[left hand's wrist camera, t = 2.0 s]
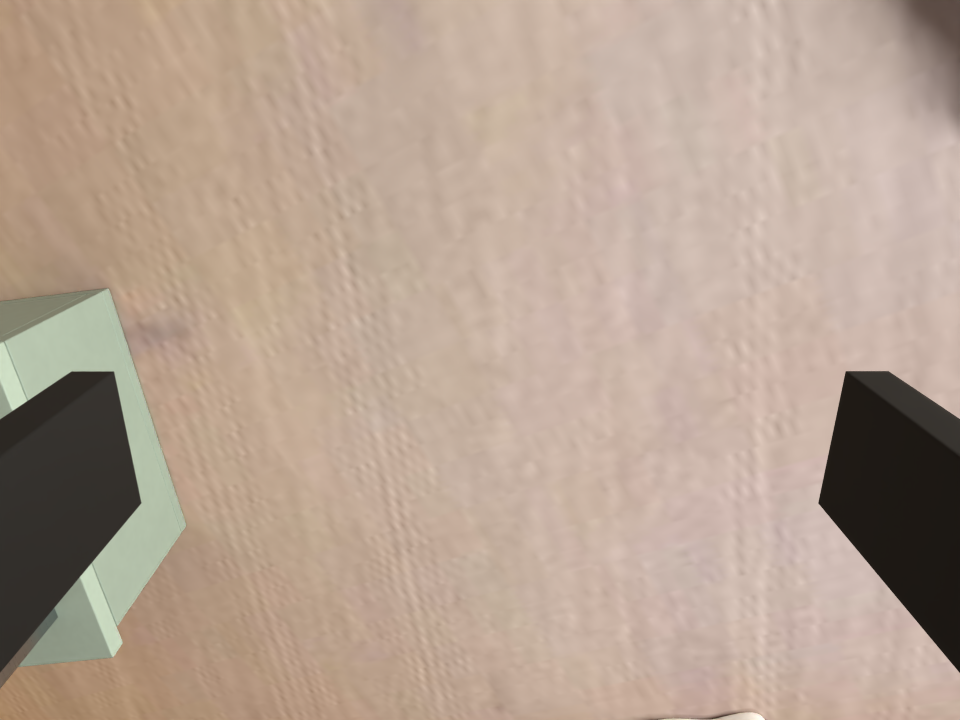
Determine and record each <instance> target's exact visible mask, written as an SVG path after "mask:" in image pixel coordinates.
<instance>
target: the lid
mask: <svg viewBox="0 0 960 720" xmlns="http://www.w3.org/2000/svg"><path fill="white" fill-rule="evenodd" d="M25 402H27V399H26V397H25V394H24V392H23V389H22V386H21V384H20V381H19V379H18V376H17V374H16V371H15V369H14V366H13V364H12V361H11V359H10V356H9V354H8V351H7V348H6V346H5V343H4V342H0V419H1V418H3V417H4V416H6V415H7V414H9V413H10V412H12V411H13V410H15V409H16V408H18V407H19V406H21V405H22V404H24V403H25ZM122 643H123V642H122V639H121V637H120V634H119V632H118V629H117V627H116V624H115V622H114V619H113V617H112V614H111V612H110V609H109V607H108V604H107V602H106V599H105V596H104V594H103V591H102V589H101V586H100V584H99V581H98V579H97V576H96V574H95V571H94V569H93V566H92V564H90V566H89V567H88V568H87V569H86V570H85V572H84V573H83V574H82V575H81V576H80V578H79V579H78V580H77V581H76V582H75V584H74V585H73V586H72V587H71V588H70V590H69V591H68V592H67V593H66V594H65V596H64V597H63V598H62V599H61V600H60V602H59V603H58V604H57V605H56V606H55V608H54V609H53V610H52V611H51V612H50V614H49V615H48V616H47V617H46V618H45V620H44V621H43V622H42V623H41V624H40V626H39V627H38V628H37V629H36V630H35V632H34V633H33V634H32V635H31V636H30V638H29V639H28V640H27V641H26V642H25V644H24V645H23V646H22V647H21V648H20V650H19V651H18V652H17V653H16V654H15V656H14V657H13V658H12V659H11V660H10V662H9V663H8V664H7V665H6V666H5V668H4V669H3V670H2V671H1V672H0V688H1V687H2V686H3V685H4V683H5V682H6V681H7V680H8V678H9V677H10V676H11V675H12V673H13V672H14V671H15V670H16V669H17V667H23V666H33V665H43V664H53V663H64V662H74V661H84V660H94V659H104V658H113V657H114V655H115V654H116V652H117V651H118V649H119V648H120V646H121V645H122Z"/></svg>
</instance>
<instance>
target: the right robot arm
mask: <svg viewBox="0 0 960 720" xmlns="http://www.w3.org/2000/svg"><path fill="white" fill-rule="evenodd" d="M660 720H703V719H684V718H672V719H660ZM707 720H765V719H764V718H763V717H762V716H761V715H759V714H757V713H754V712H744V713H737V714H732V715H728V716H724V717H720V718H716V719H707Z"/></svg>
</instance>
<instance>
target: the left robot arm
mask: <svg viewBox="0 0 960 720" xmlns="http://www.w3.org/2000/svg"><path fill="white" fill-rule="evenodd" d="M140 505H141V498H140V493H139V488H138V484H137V479H136V474H135V469H134V464H133V460H132V455H131V450H130V445H129V440H128V436H127V431H126V426H125V421H124V416H123V411H122V407H121V402H120V397H119V392H118V387H117V383H116V378H115V373H114V371H71V372H70V373H68V374H67V375H65V376H64V377H62V378H61V379H59V380H58V381H56V382H55V383H53V384H52V385H50V386H49V387H47V388H46V389H44V390H43V391H41V392H40V393H38V394H37V395H36V396H34V397H33V398H31V399H30V400H28V401H27V402H25V403H24V404H22V405H21V406H19V407H18V408H16V409H15V410H13V411H12V412H10V413H9V414H7V415H6V416H4V417H3V418H1V419H0V672H1V671H2V670H3V669H4V668H5V666H6V665H7V664H8V663H9V662H10V660H11V659H12V658H13V657H14V656H15V654H16V653H17V652H18V651H19V650H20V648H21V647H22V646H23V645H24V644H25V642H26V641H27V640H28V639H29V638H30V636H31V635H32V634H33V633H34V632H35V630H36V629H37V628H38V627H39V626H40V624H41V623H42V622H43V621H44V620H45V618H46V617H47V616H48V615H49V614H50V612H51V611H52V610H53V609H54V608H55V606H56V605H57V604H58V603H59V602H60V600H61V599H62V598H63V597H64V596H65V594H66V593H67V592H68V591H69V590H70V588H71V587H72V586H73V585H74V584H75V582H76V581H77V580H78V579H79V578H80V576H81V575H82V574H83V573H84V572H85V570H86V569H87V568H88V567H89V566H90V564H91V563H92V562H93V561H94V560H95V558H96V557H97V556H98V555H99V554H100V552H101V551H102V550H103V549H104V548H105V546H106V545H107V544H108V543H109V542H110V540H111V539H112V538H113V537H114V536H115V534H116V533H117V532H118V531H119V530H120V528H121V527H122V526H123V525H124V524H125V522H126V521H127V520H128V519H129V518H130V516H131V515H132V514H133V513H134V512H135V511H136V509H137V508H138V507H139V506H140ZM819 505H820V506H821V507H822V508H823V509H824V511H825V512H826V513H827V514H828V515H829V516H830V518H831V519H832V520H833V521H834V522H835V524H836V525H837V526H838V527H839V528H840V530H841V531H842V532H843V533H844V534H845V536H846V537H847V538H848V539H849V540H850V542H851V543H852V544H853V545H854V546H855V548H856V549H857V550H858V551H859V552H860V554H861V555H862V556H863V557H864V558H865V560H866V561H867V562H868V563H869V564H870V566H871V567H872V568H873V569H874V570H875V572H876V573H877V574H878V575H879V576H880V578H881V579H882V580H883V581H884V582H885V584H886V585H887V586H888V587H889V588H890V590H891V591H892V592H893V593H894V594H895V596H896V597H897V598H898V599H899V600H900V602H901V603H902V604H903V605H904V606H905V608H906V609H907V610H908V611H909V612H910V614H911V615H912V616H913V617H914V618H915V620H916V621H917V622H918V623H919V624H920V626H921V627H922V628H923V629H924V630H925V632H926V633H927V634H928V635H929V636H930V638H931V639H932V640H933V641H934V642H935V644H936V645H937V646H938V647H939V648H940V650H941V651H942V652H943V653H944V654H945V656H946V657H947V658H948V659H949V660H950V662H951V663H952V664H953V665H954V666H955V668H956V669H957V670H958V671H959V672H960V419H959V418H957V417H956V416H954V415H953V414H951V413H950V412H948V411H947V410H945V409H944V408H942V407H941V406H939V405H938V404H936V403H935V402H933V401H932V400H930V399H929V398H927V397H926V396H924V395H923V394H922V393H920V392H919V391H917V390H916V389H914V388H913V387H911V386H910V385H908V384H907V383H905V382H904V381H902V380H901V379H899V378H898V377H896V376H895V375H893V374H892V373H890V372H889V371H846V373H845V378H844V383H843V387H842V392H841V397H840V402H839V407H838V411H837V416H836V421H835V426H834V431H833V436H832V440H831V445H830V450H829V455H828V460H827V464H826V469H825V474H824V479H823V484H822V488H821V493H820V498H819Z"/></svg>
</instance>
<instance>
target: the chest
mask: <svg viewBox="0 0 960 720" xmlns="http://www.w3.org/2000/svg"><path fill="white" fill-rule="evenodd" d="M0 342H4V343H5V346H6V348H7V351H8V354H9V356H10V359H11V361H12V364H13V366H14V369H15V371H16V374H17V376H18V379H19V381H20V384H21V386H22V389H23V392H24V394H25V397H26V399H27V401H28V400H30V399H31V398H33V397H34V396H36V395H37V394H38V393H40V392H41V391H43V390H44V389H46V388H47V387H49V386H50V385H52V384H53V383H55V382H56V381H58V380H59V379H61V378H62V377H64V376H65V375H67V374H68V373H70V372H71V371H114V373H115V378H116V383H117V387H118V392H119V397H120V402H121V407H122V411H123V416H124V421H125V426H126V431H127V436H128V440H129V445H130V450H131V455H132V460H133V464H134V469H135V474H136V479H137V484H138V488H139V493H140V498H141V505H140V506H139V507H138V508H137V509H136V511H135V512H134V513H133V514H132V515H131V516H130V518H129V519H128V520H127V521H126V522H125V524H124V525H123V526H122V527H121V528H120V530H119V531H118V532H117V533H116V534H115V536H114V537H113V538H112V539H111V540H110V542H109V543H108V544H107V545H106V546H105V548H104V549H103V550H102V551H101V552H100V554H99V555H98V556H97V557H96V558H95V560H94V561H93V562H92V563H91V564H92V566H93V569H94V571H95V574H96V576H97V579H98V581H99V584H100V586H101V589H102V591H103V594H104V596H105V599H106V602H107V604H108V607H109V609H110V612H111V614H112V617H113V619H114V622H115V624H116V626H118V624H119V623H120V622H121V620H122V619H123V617H124V616H125V614H126V613H127V611H128V610H129V608H130V607H131V606H132V604H133V603H134V601H135V600H136V598H137V597H138V595H139V594H140V592H141V591H142V590H143V588H144V587H145V585H146V584H147V582H148V581H149V579H150V578H151V576H152V575H153V574H154V572H155V571H156V569H157V568H158V566H159V565H160V563H161V562H162V560H163V559H164V558H165V556H166V555H167V553H168V552H169V550H170V549H171V547H172V546H173V544H174V543H175V541H176V540H177V539H178V537H179V536H180V534H181V532H182V531H183V530H184V528H185V527H186V523H185V520H184V517H183V514H182V511H181V508H180V505H179V502H178V498H177V495H176V492H175V489H174V486H173V483H172V480H171V477H170V474H169V471H168V468H167V465H166V462H165V459H164V456H163V453H162V450H161V447H160V443H159V440H158V437H157V434H156V431H155V428H154V425H153V422H152V419H151V416H150V413H149V410H148V407H147V404H146V401H145V398H144V395H143V391H142V388H141V385H140V382H139V379H138V376H137V373H136V370H135V367H134V364H133V361H132V358H131V355H130V352H129V349H128V346H127V343H126V340H125V336H124V333H123V330H122V327H121V324H120V321H119V318H118V315H117V312H116V309H115V306H114V303H113V300H112V297H111V294H110V291H109V289H108V288H107V289H98V290H90V291H82V292H74V293H66V294H58V295H50V296H41V297H33V298H25V299H17V300H9V301H1V302H0Z"/></svg>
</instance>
